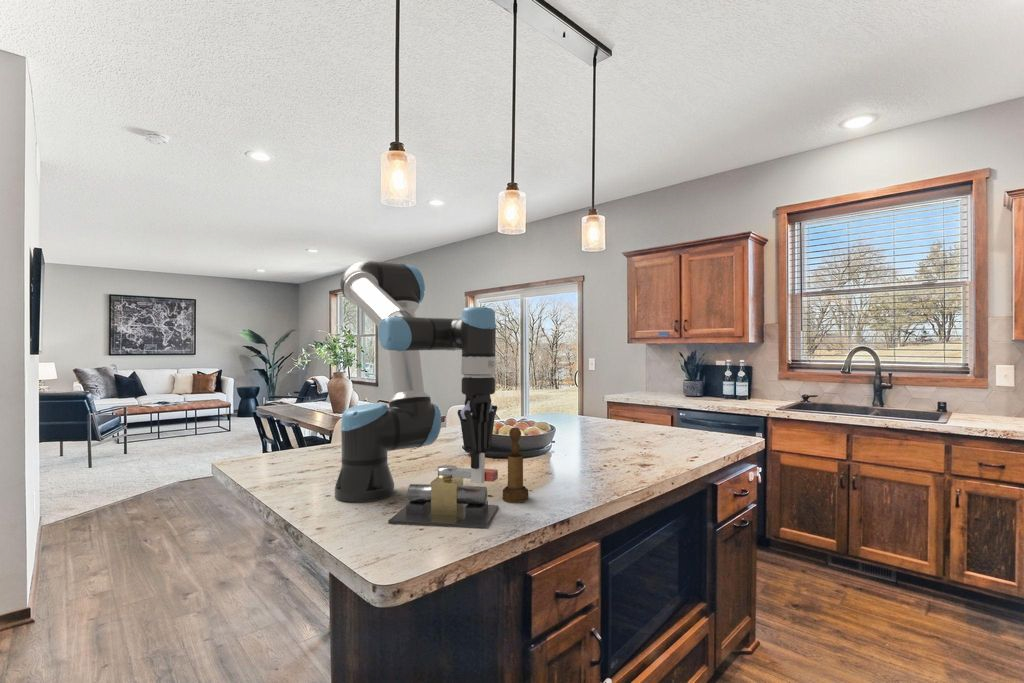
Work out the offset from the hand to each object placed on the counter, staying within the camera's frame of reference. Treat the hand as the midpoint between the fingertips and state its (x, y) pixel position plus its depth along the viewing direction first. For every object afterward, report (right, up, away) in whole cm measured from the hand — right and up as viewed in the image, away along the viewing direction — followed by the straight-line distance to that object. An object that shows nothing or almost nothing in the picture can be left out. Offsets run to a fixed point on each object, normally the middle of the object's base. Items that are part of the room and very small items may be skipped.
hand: (477, 482), depth 114 cm
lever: (-3, 0, +3) cm, 4 cm away
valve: (-8, -9, +4) cm, 12 cm away
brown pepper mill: (+9, -9, +16) cm, 20 cm away
